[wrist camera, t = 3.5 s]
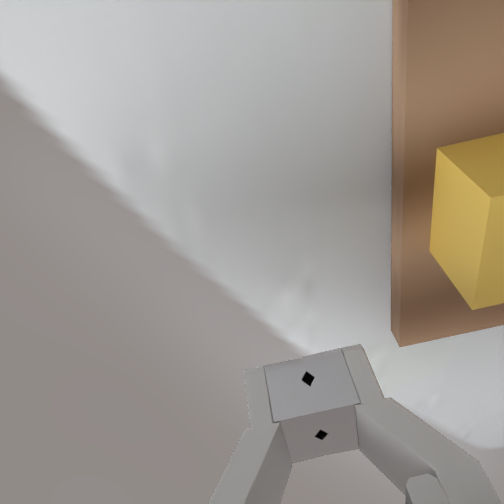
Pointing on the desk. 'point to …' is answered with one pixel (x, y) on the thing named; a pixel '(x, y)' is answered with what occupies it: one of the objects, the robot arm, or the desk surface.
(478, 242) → the t block
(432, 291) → the board
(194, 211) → the desk surface
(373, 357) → the desk surface
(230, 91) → the desk surface
